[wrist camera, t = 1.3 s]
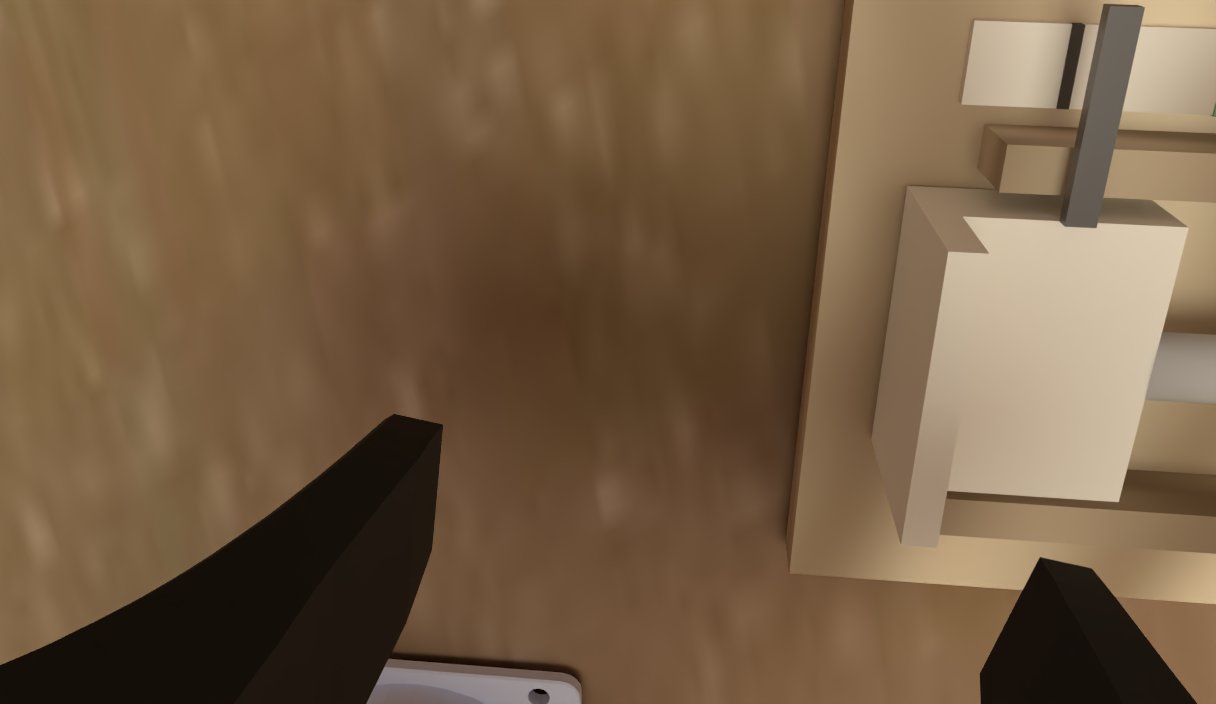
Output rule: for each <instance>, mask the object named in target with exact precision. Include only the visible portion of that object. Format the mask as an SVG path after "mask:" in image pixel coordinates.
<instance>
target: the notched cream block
mask: <svg viewBox="0 0 1216 704" xmlns="http://www.w3.org/2000/svg"><path fill="white" fill-rule="evenodd" d="M1144 10H1145V7H1143V6H1139V5H1124V4H1103V9H1102V13H1101V18H1100V23H1099V28H1098V33H1097V38H1096V43H1095V48H1094V53H1093V58H1092V62H1091V67H1090V72H1089V77H1088V82H1087V87H1086V92H1085V97H1084V102H1083V107H1082V112H1081V116H1080V121H1079V126H1078V131H1077V136H1076V141H1075V146H1074V151H1073V156H1072V161H1071V166H1070V170H1069V175H1068V180H1067V185H1066V190H1065V195H1064V196H1061V195H1040V194H1018V193H999V192H998V191H997V190H988V189H966V188H945V187H924V186H907V191H906V198H905V205H904V212H903V219H902V226H901V233H900V240H899V247H898V254H897V261H896V268H895V276H894V283H893V290H892V297H891V304H890V311H889V318H888V325H887V332H886V339H885V346H884V353H883V360H882V367H881V374H880V381H879V388H878V395H877V402H876V409H875V416H874V423H873V431H872V438H871V441H872V445H873V448H874V452H875V455H876V459H877V462H878V466H879V469H880V473H881V477H882V480H883V484H884V487H885V491H886V494H887V498H888V501H889V505H890V508H891V512H892V516H893V519H894V523H895V526H896V530H897V533H898V537H899V540H900V544H901V545H905V546H919V547H933V548H937V546H938V540H939V534H940V529H941V523H942V518H943V512H944V506H945V501H946V495H947V491H957V492H973V493H988V494H1003V495H1018V496H1033V497H1048V498H1063V499H1078V500H1094V501H1109V502H1119V499H1120V495H1121V491H1122V487H1123V483H1124V479H1125V475H1126V472H1127V468H1128V464H1129V460H1130V456H1131V452H1132V448H1133V444H1134V440H1135V436H1136V432H1137V429H1138V425H1139V421H1140V417H1141V413H1142V409H1143V405H1144V401H1145V400H1156V401H1172V402H1189V403H1206V404H1216V335H1209V334H1191V333H1173V332H1162V331H1163V327H1164V323H1165V319H1166V315H1167V311H1168V307H1169V303H1170V299H1171V295H1172V292H1173V288H1174V284H1175V280H1176V276H1177V272H1178V268H1179V264H1180V260H1181V256H1182V252H1183V249H1184V245H1185V241H1186V237H1187V233H1188V229H1189V227H1187V226H1186V225H1185V224H1183V223H1182V222H1181V221H1179V220H1178V219H1177V218H1175V217H1174V216H1173V215H1171V214H1170V213H1169V212H1167V211H1166V210H1165V209H1163V208H1162V207H1161V206H1159V205H1158V204H1157V203H1155V202H1154V201H1153V200H1146V199H1124V198H1103V197H1104V192H1105V188H1106V183H1107V178H1108V174H1109V169H1110V165H1111V160H1112V156H1113V151H1114V147H1115V142H1116V137H1117V133H1118V128H1119V124H1120V119H1121V115H1122V110H1123V105H1124V101H1125V96H1126V92H1127V87H1128V83H1129V78H1130V74H1131V69H1132V64H1133V60H1134V55H1135V51H1136V46H1137V42H1138V37H1139V32H1140V28H1141V23H1142V19H1143V14H1144Z"/></svg>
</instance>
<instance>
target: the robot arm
mask: <svg viewBox="0 0 1216 704" xmlns="http://www.w3.org/2000/svg"><path fill="white" fill-rule="evenodd" d="M442 430H443V425H442V424H437V423H433V422H428V421H424V420H419V419H415V418H410V417H406V416H401V415H396V414H393V415H392V416H390V417H388V418H386V419H385V420H384V421H382V422H381V423H380V424H379V425H378V426H377V427H376V428H375V429H373V430H372V431H371V432H370V433H369V434H368V435H367V436H365V437H364V438H363V439H362V440H361V441H360V442H359V443H357V444H356V445H355V446H354V447H353V448H352V449H351V450H349V451H348V452H347V453H346V454H345V455H344V456H342V457H341V458H340V459H339V460H338V461H336V462H335V463H334V464H333V465H332V466H330V467H329V468H328V469H327V470H326V471H324V472H323V473H322V474H321V475H320V476H318V477H317V478H316V479H314V480H313V481H312V482H311V483H309V484H308V485H307V486H306V487H304V488H303V489H302V490H300V491H299V492H298V493H297V494H295V495H294V496H293V497H291V498H290V499H289V500H288V501H286V502H285V503H284V504H282V505H281V506H280V507H279V508H277V509H276V510H275V511H273V512H272V513H271V514H269V515H268V516H267V517H265V518H264V519H262V520H261V521H260V522H258V523H257V524H255V525H254V526H252V527H251V528H249V529H248V530H247V531H245V532H244V533H242V534H241V535H239V536H238V537H237V538H235V539H234V540H232V541H231V542H229V543H228V544H227V545H225V546H224V547H222V548H221V549H219V550H218V551H216V552H215V553H213V554H212V555H210V556H209V557H207V558H206V559H204V560H203V561H201V562H200V563H198V564H196V565H195V566H193V567H192V568H190V569H189V570H187V571H185V572H184V573H182V574H180V575H179V576H177V577H175V578H174V579H172V580H170V581H169V582H167V583H165V584H164V585H162V586H160V587H158V588H157V589H155V590H153V591H151V592H150V593H148V594H146V595H145V596H143V597H141V598H139V599H137V600H136V601H134V602H132V603H130V604H128V605H126V606H124V607H122V608H121V609H119V610H117V611H115V612H113V613H111V614H109V615H107V616H105V617H103V618H101V619H99V620H98V621H96V622H94V623H91V624H89V625H87V626H85V627H83V628H81V629H79V630H77V631H75V632H73V633H71V634H69V635H67V636H65V637H63V638H61V639H59V640H57V641H55V642H53V643H51V644H48V645H46V646H44V647H42V648H40V649H37V650H35V651H33V652H30V653H28V654H26V655H23V656H21V657H19V658H16V659H14V660H12V661H9V662H7V663H5V664H2V665H0V704H582V689H581V684H580V683H579V682H578V680H577V679H576V678H574V677H573V676H571V675H569V674H565V673H560V672H547V671H535V670H522V669H510V668H497V667H485V666H472V665H459V664H447V663H434V662H422V661H409V660H397V659H389V657H390V655H391V653H392V651H393V649H394V646H395V644H396V642H397V640H398V638H399V636H400V634H401V632H402V630H403V628H404V626H405V624H406V622H407V619H408V616H409V613H410V610H411V608H412V605H413V602H414V599H415V597H416V594H417V591H418V588H419V585H420V582H421V580H422V577H423V574H424V571H425V568H426V565H427V562H428V559H429V556H430V553H431V550H432V543H433V531H434V520H435V509H436V498H437V486H438V475H439V464H440V453H441V441H442ZM533 689H542V690H545V691H546V692H547V694H542V695H541V694H538V693H535V692H534V691H533ZM980 691H981V704H1197V703H1196V701H1195V700H1194V699H1193V698H1192V696H1191V695H1190V694H1189V693H1188V691H1187V690H1186V689H1185V688H1184V686H1183V685H1182V684H1181V682H1180V681H1179V680H1178V679H1177V677H1176V676H1175V675H1174V673H1173V672H1172V671H1171V670H1170V668H1169V667H1168V666H1167V664H1166V663H1165V662H1164V661H1163V659H1162V658H1161V657H1160V655H1159V654H1158V653H1157V651H1156V650H1155V649H1154V647H1153V646H1152V645H1151V644H1150V642H1149V641H1148V640H1147V638H1146V637H1145V636H1144V634H1143V633H1142V632H1141V630H1140V629H1139V628H1138V626H1137V625H1136V624H1135V623H1134V621H1133V620H1132V619H1131V617H1130V616H1129V615H1128V613H1127V612H1126V611H1125V609H1124V608H1123V607H1122V605H1121V604H1120V603H1119V602H1118V600H1117V599H1116V598H1115V596H1114V595H1113V594H1112V593H1111V591H1110V590H1109V589H1108V587H1107V586H1106V585H1105V584H1104V582H1103V581H1102V580H1101V579H1100V578H1099V576H1098V575H1097V574H1096V573H1095V571H1094V570H1093V569H1092V568H1088V567H1083V566H1079V565H1074V564H1069V563H1065V562H1060V561H1056V560H1051V559H1047V558H1042V557H1040V558H1039V560H1038V561H1037V563H1036V565H1035V567H1034V569H1033V571H1032V573H1031V575H1030V577H1029V579H1028V581H1027V583H1026V585H1025V587H1024V589H1023V591H1022V593H1021V595H1020V597H1019V598H1018V600H1017V602H1016V604H1015V606H1014V608H1013V610H1012V612H1011V614H1010V616H1009V618H1008V620H1007V622H1006V624H1005V626H1004V628H1003V630H1002V632H1001V634H1000V636H999V637H998V639H997V641H996V643H995V645H994V647H993V649H992V651H991V653H990V655H989V657H988V659H987V661H986V663H985V665H984V667H983V669H982V671H981V673H980Z"/></svg>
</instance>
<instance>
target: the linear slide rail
mask: <svg viewBox="0 0 1216 704" xmlns="http://www.w3.org/2000/svg"><path fill="white" fill-rule="evenodd" d="M1103 4H1124V5H1139V6H1143V7H1145V10H1144V14H1143V19H1142V23H1141V28H1140V32H1139V37H1138V42H1137V46H1136V51H1135V55H1134V60H1133V64H1132V69H1131V74H1130V78H1129V83H1128V87H1127V92H1126V96H1125V101H1124V105H1123V110H1122V115H1121V119H1120V124H1119V128H1118V133H1117V137H1116V142H1115V147H1114V151H1113V156H1112V160H1111V165H1110V169H1109V174H1108V178H1107V183H1106V188H1105V192H1104V197H1103V198H1124V199H1146V200H1153V201H1154V202H1155V203H1157V204H1158V205H1159V206H1161V207H1162V208H1163V209H1165V210H1166V211H1167V212H1169V213H1170V214H1171V215H1173V216H1174V217H1175V218H1177V219H1178V220H1179V221H1181V222H1182V223H1183V224H1185V225H1186V226H1187V227H1189V229H1188V233H1187V237H1186V241H1185V245H1184V249H1183V252H1182V256H1181V260H1180V264H1179V268H1178V272H1177V276H1176V280H1175V284H1174V288H1173V292H1172V295H1171V299H1170V303H1169V307H1168V311H1167V315H1166V319H1165V323H1164V327H1163V331H1162V332H1173V333H1191V334H1209V335H1216V0H845V7H844V16H843V25H842V34H841V43H840V52H839V62H838V71H837V80H836V89H835V98H834V107H833V116H832V125H831V134H830V143H829V152H828V162H827V171H826V180H825V189H824V198H823V207H822V216H821V225H820V234H819V243H818V253H817V262H816V271H815V280H814V289H813V298H812V307H811V316H810V325H809V334H808V343H807V353H806V362H805V371H804V380H803V389H802V398H801V407H800V416H799V425H798V434H797V444H796V453H795V462H794V471H793V480H792V489H791V498H790V507H789V516H788V525H787V534H786V549H787V558H788V567H789V573H792V574H806V575H820V576H833V577H847V578H861V579H875V580H889V581H903V582H917V583H931V584H944V585H958V586H972V587H986V588H1000V589H1014V590H1023V589H1024V587H1025V585H1026V583H1027V581H1028V579H1029V577H1030V575H1031V573H1032V571H1033V569H1034V567H1035V565H1036V563H1037V561H1038V560H1039V558H1040V557H1042V558H1047V559H1051V560H1056V561H1060V562H1065V563H1069V564H1074V565H1079V566H1083V567H1088V568H1092V569H1093V570H1094V571H1095V573H1096V574H1097V575H1098V576H1099V578H1100V579H1101V580H1102V581H1103V582H1104V584H1105V585H1106V586H1107V587H1108V589H1109V590H1110V591H1111V593H1112V594H1113V595H1114V596H1115V597H1125V598H1139V599H1153V600H1167V601H1180V602H1194V603H1208V604H1216V404H1206V403H1189V402H1172V401H1156V400H1145V401H1144V405H1143V409H1142V413H1141V417H1140V421H1139V425H1138V429H1137V432H1136V436H1135V440H1134V444H1133V448H1132V452H1131V456H1130V460H1129V464H1128V468H1127V472H1126V475H1125V479H1124V483H1123V487H1122V491H1121V495H1120V499H1119V502H1109V501H1094V500H1078V499H1063V498H1048V497H1033V496H1018V495H1003V494H988V493H973V492H957V491H947V495H946V501H945V506H944V512H943V518H942V523H941V529H940V534H939V540H938V546H937V548H933V547H919V546H905V545H901V544H900V540H899V537H898V533H897V530H896V526H895V523H894V519H893V516H892V512H891V508H890V505H889V501H888V498H887V494H886V491H885V487H884V484H883V480H882V477H881V473H880V469H879V466H878V462H877V459H876V455H875V452H874V448H873V445H872V441H871V438H872V431H873V423H874V416H875V409H876V402H877V395H878V388H879V381H880V374H881V367H882V360H883V353H884V346H885V339H886V332H887V325H888V318H889V311H890V304H891V297H892V290H893V283H894V276H895V268H896V261H897V254H898V247H899V240H900V233H901V226H902V219H903V212H904V205H905V198H906V191H907V186H924V187H945V188H966V189H988V190H997V191H998V192H999V193H1018V194H1040V195H1061V196H1064V195H1065V190H1066V185H1067V180H1068V175H1069V170H1070V166H1071V161H1072V156H1073V151H1074V146H1075V141H1076V136H1077V131H1078V126H1079V121H1080V116H1081V112H1082V107H1083V102H1084V97H1085V92H1086V87H1087V82H1088V77H1089V72H1090V67H1091V62H1092V58H1093V53H1094V48H1095V43H1096V38H1097V33H1098V28H1099V23H1100V18H1101V13H1102V9H1103Z"/></svg>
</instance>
